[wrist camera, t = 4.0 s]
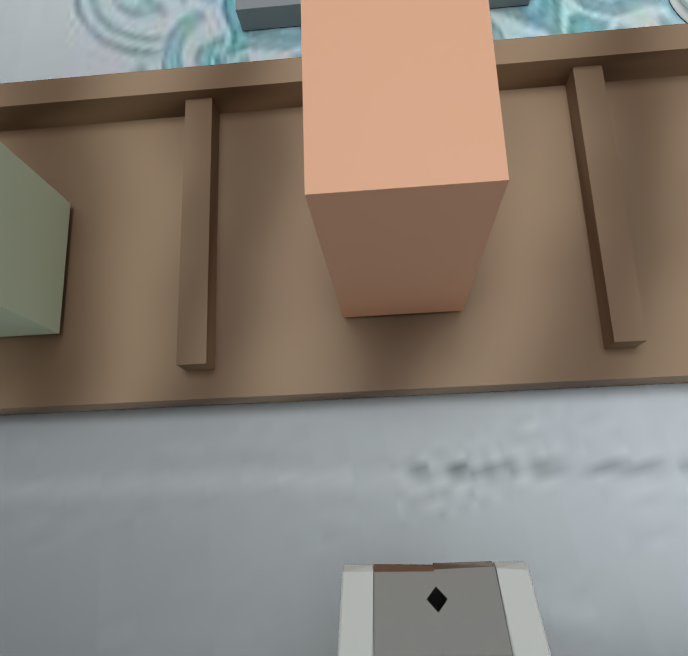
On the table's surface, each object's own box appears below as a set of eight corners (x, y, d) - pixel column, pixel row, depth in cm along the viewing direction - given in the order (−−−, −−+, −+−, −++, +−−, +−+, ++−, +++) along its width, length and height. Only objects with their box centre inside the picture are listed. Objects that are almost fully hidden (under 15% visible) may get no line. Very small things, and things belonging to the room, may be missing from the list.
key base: (-50, 417, 23) (-114, 406, 20) (-14, 133, 26) (-64, 89, 23) (916, 371, 21) (1000, 351, 18) (831, 64, 24) (890, 5, 21)
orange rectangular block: (343, 317, 21) (304, 194, 12) (338, 183, 22) (300, -13, 14) (462, 310, 21) (509, 179, 12) (450, 175, 22) (485, -31, 13)
